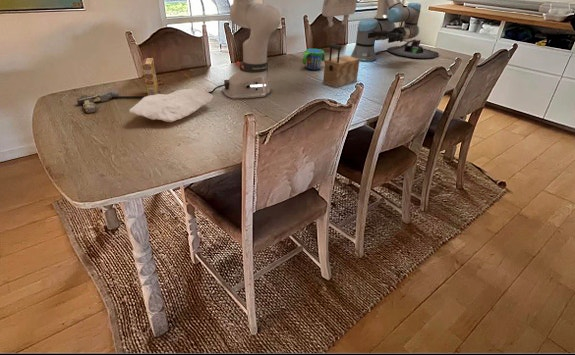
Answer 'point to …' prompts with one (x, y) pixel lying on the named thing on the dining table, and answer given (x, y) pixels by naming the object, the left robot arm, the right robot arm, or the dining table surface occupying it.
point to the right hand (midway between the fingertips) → (378, 37)
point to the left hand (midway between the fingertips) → (337, 25)
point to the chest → (340, 74)
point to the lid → (339, 60)
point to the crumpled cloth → (171, 104)
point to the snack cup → (313, 58)
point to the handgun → (95, 100)
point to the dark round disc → (413, 51)
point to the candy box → (150, 76)
